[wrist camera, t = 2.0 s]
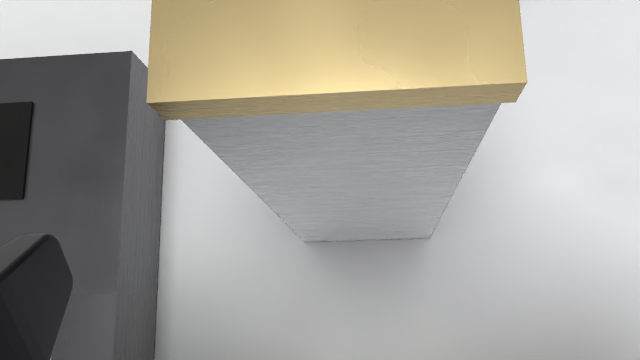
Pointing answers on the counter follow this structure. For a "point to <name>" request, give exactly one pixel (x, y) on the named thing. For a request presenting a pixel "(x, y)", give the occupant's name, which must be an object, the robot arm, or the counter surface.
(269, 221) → the counter surface
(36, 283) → the robot arm
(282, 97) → the square bar
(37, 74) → the rack rail
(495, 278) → the counter surface
